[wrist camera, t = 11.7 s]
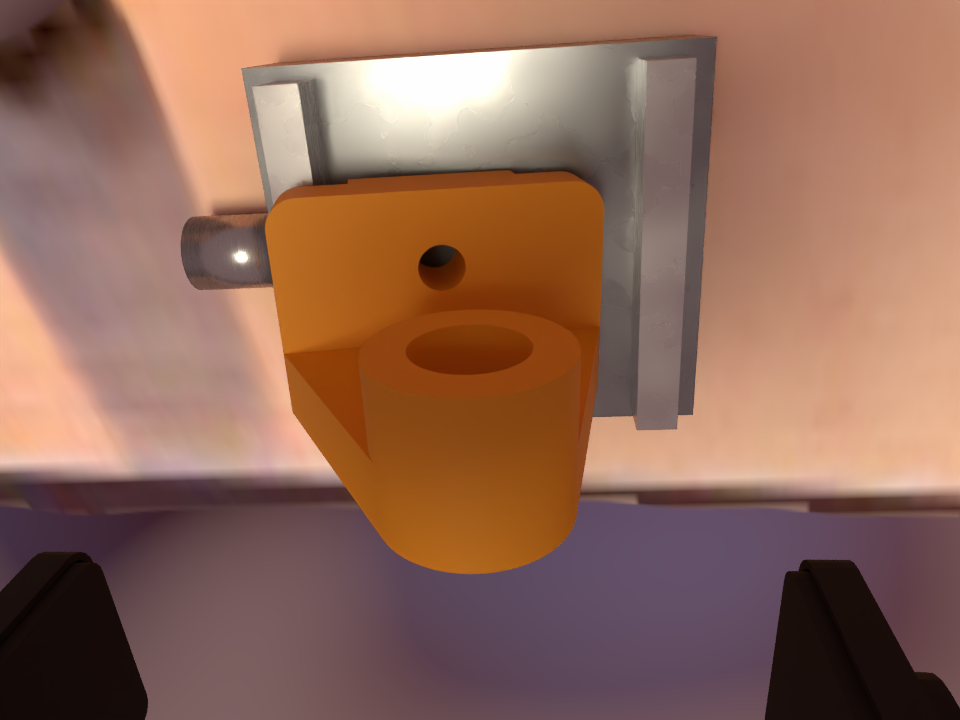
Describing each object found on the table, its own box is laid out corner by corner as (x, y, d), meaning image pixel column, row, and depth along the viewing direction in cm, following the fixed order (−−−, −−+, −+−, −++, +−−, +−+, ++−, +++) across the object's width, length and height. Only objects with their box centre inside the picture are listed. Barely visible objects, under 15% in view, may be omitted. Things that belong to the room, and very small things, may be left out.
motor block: (692, 35, 28) (731, 37, 22) (675, 371, 33) (703, 440, 28) (180, 69, 29) (100, 79, 24) (248, 383, 35) (195, 450, 30)
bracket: (582, 165, 26) (742, 259, 15) (577, 353, 29) (708, 545, 18) (270, 184, 25) (199, 300, 14) (298, 378, 28) (258, 601, 17)
